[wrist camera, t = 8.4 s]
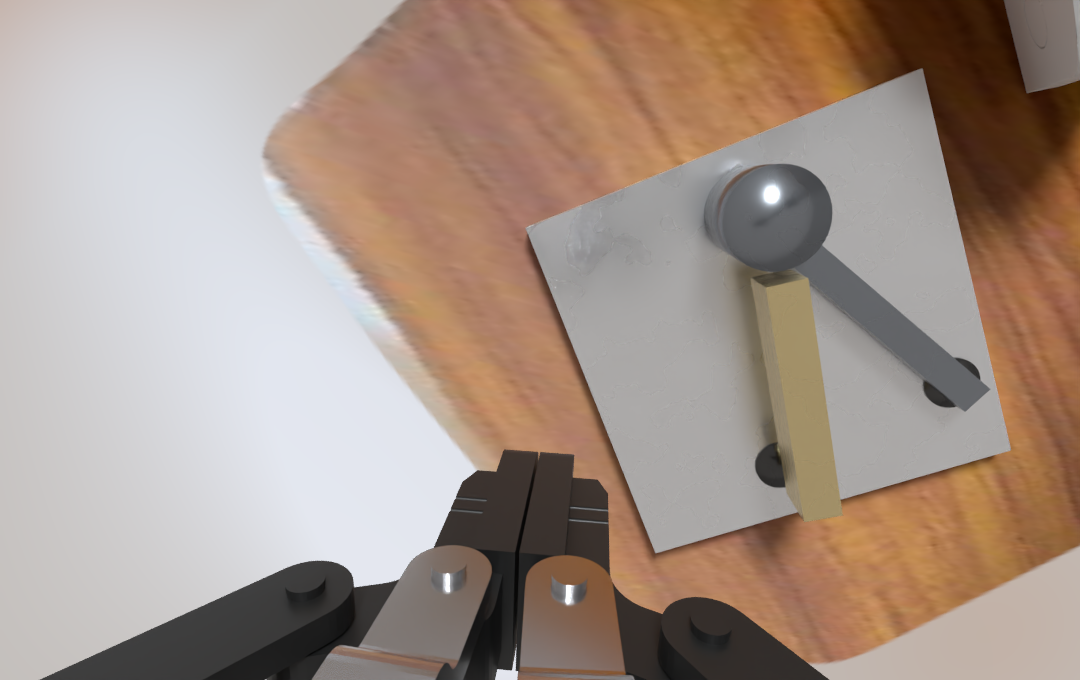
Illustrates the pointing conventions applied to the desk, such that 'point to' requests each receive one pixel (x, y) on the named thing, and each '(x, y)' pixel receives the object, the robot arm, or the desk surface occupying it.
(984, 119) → the desk surface
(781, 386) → the leg
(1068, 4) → the light grey curved piece
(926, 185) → the mounting plate
